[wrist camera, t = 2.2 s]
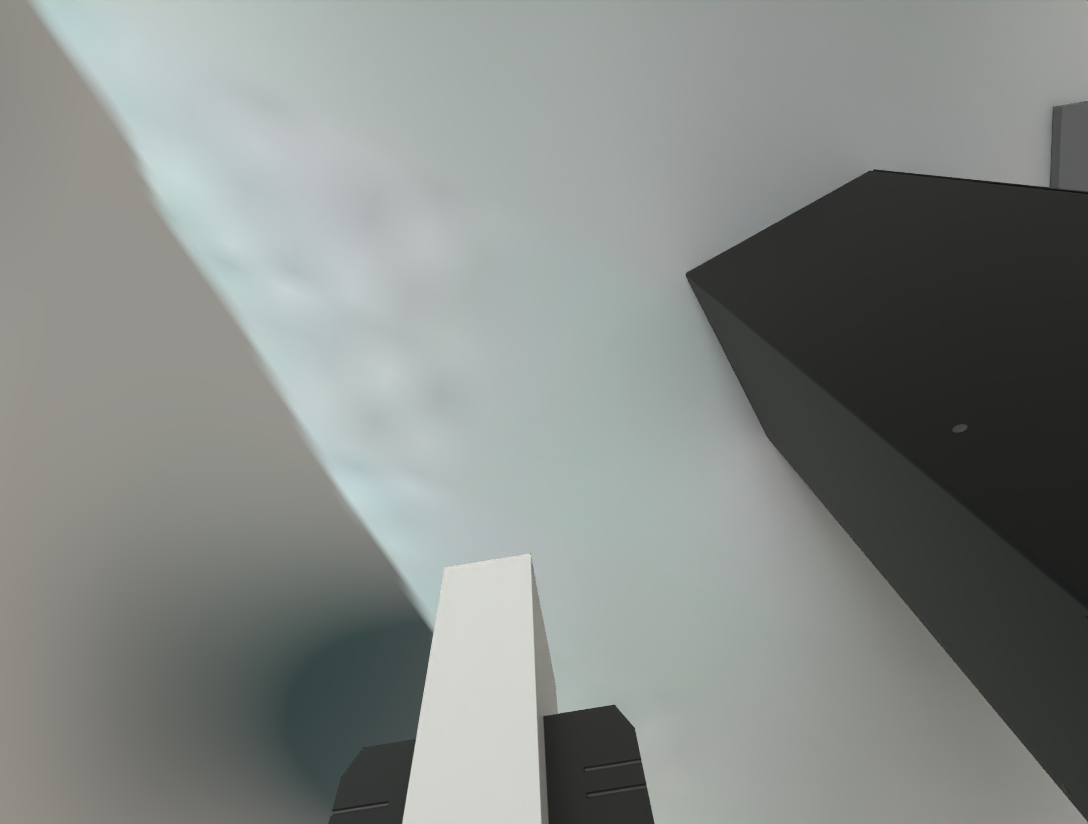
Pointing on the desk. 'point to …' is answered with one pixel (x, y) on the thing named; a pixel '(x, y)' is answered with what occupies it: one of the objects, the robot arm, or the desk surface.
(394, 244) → the desk surface
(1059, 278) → the black rectangular box
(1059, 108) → the mat
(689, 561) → the desk surface
